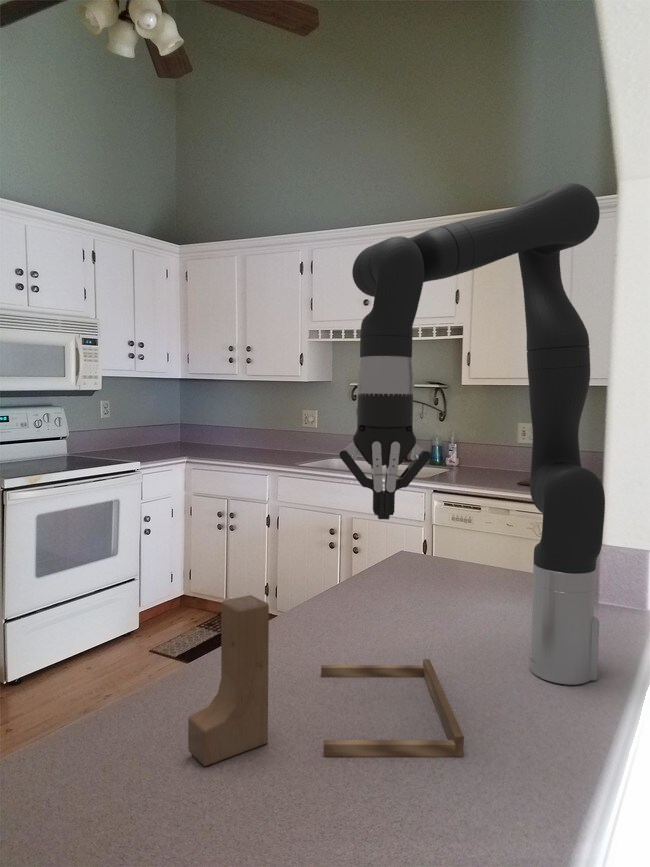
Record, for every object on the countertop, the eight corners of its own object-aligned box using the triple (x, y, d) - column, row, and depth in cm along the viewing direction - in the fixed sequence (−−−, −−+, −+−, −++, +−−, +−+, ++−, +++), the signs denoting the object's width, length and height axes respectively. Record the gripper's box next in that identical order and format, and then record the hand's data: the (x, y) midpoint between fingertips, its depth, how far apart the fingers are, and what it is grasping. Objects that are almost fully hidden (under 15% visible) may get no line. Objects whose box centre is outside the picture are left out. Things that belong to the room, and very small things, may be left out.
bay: (429, 674, 102) (429, 659, 101) (463, 756, 79) (463, 736, 78) (321, 674, 101) (321, 658, 101) (323, 756, 78) (323, 736, 78)
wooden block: (203, 768, 75) (204, 617, 74) (187, 751, 79) (186, 607, 78) (269, 743, 81) (270, 602, 80) (250, 728, 84) (251, 593, 83)
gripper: (429, 392, 91) (426, 513, 92) (335, 391, 91) (333, 513, 92) (439, 392, 84) (436, 524, 85) (337, 390, 83) (335, 523, 84)
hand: (383, 518), depth 88 cm, fingers closed
